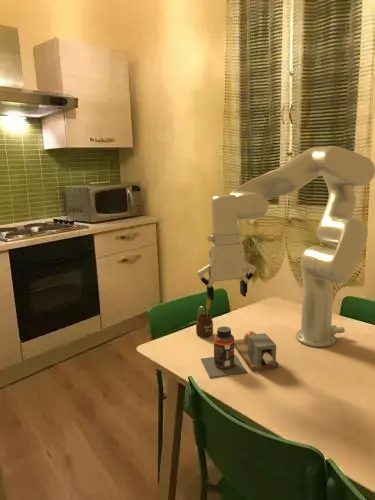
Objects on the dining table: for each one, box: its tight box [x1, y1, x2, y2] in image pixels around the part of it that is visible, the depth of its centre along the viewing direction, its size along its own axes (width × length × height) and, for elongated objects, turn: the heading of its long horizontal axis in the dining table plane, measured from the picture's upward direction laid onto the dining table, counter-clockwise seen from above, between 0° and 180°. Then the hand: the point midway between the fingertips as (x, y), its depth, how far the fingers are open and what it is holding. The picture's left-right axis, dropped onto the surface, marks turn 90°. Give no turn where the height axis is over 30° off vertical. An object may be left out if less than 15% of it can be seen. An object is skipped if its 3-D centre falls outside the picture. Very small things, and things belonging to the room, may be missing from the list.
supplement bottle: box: [213, 325, 235, 369], centre depth 115 cm, size 6×6×11 cm
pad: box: [200, 353, 248, 379], centre depth 116 cm, size 11×11×1 cm
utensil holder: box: [195, 298, 214, 338], centre depth 137 cm, size 6×6×12 cm
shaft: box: [243, 330, 273, 365], centre depth 117 cm, size 15×4×4 cm, turn 11°
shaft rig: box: [234, 332, 279, 373], centre depth 121 cm, size 19×8×8 cm, turn 11°
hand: (227, 297), depth 114 cm, fingers open, 9 cm apart
